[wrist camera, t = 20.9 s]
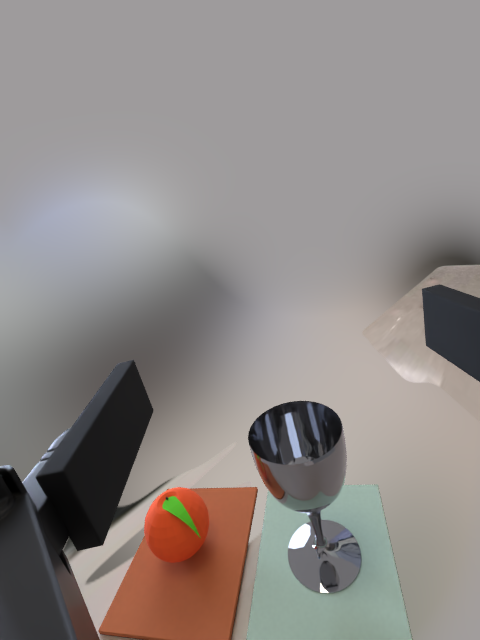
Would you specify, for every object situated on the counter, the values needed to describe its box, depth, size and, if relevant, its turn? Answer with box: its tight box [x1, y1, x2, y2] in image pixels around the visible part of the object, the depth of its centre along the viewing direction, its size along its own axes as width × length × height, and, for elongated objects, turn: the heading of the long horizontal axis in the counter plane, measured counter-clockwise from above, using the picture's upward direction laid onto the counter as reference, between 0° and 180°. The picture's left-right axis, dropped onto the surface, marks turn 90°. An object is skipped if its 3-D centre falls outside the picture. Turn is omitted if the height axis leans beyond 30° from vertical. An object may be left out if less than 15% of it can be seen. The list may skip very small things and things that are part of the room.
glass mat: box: [246, 485, 413, 640], centre depth 32 cm, size 13×16×1 cm
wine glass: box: [248, 401, 362, 594], centre depth 30 cm, size 8×8×15 cm
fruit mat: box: [99, 487, 258, 640], centre depth 36 cm, size 13×16×1 cm
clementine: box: [144, 487, 209, 563], centre depth 35 cm, size 8×7×7 cm
